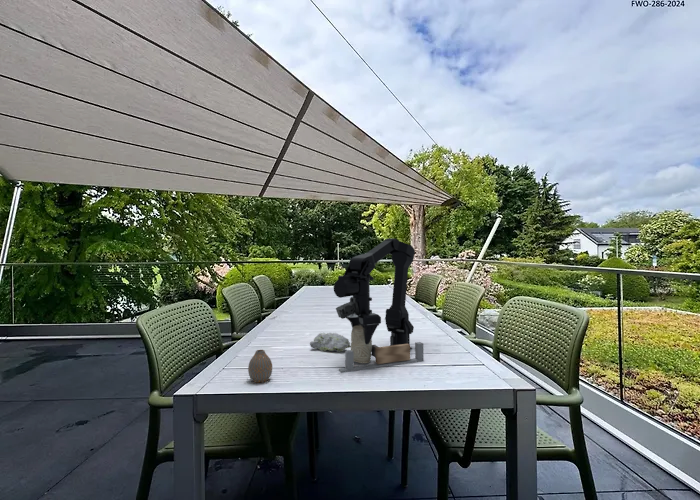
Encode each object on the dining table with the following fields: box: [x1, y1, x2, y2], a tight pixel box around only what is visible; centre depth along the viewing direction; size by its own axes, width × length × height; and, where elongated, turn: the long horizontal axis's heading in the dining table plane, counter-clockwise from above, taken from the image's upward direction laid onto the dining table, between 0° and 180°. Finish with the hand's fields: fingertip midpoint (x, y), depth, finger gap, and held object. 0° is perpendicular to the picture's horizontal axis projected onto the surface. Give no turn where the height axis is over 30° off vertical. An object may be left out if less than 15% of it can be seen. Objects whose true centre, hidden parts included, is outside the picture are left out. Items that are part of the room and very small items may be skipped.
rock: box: [309, 332, 351, 353], centre depth 141 cm, size 16×7×7 cm, turn 66°
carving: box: [350, 325, 373, 364], centre depth 125 cm, size 6×8×12 cm
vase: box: [247, 349, 273, 384], centre depth 109 cm, size 7×7×9 cm
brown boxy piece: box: [371, 344, 411, 364], centre depth 125 cm, size 12×7×5 cm, turn 111°
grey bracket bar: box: [338, 341, 425, 374], centre depth 121 cm, size 30×2×6 cm, turn 111°
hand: (361, 340), depth 125 cm, fingers open, 9 cm apart
